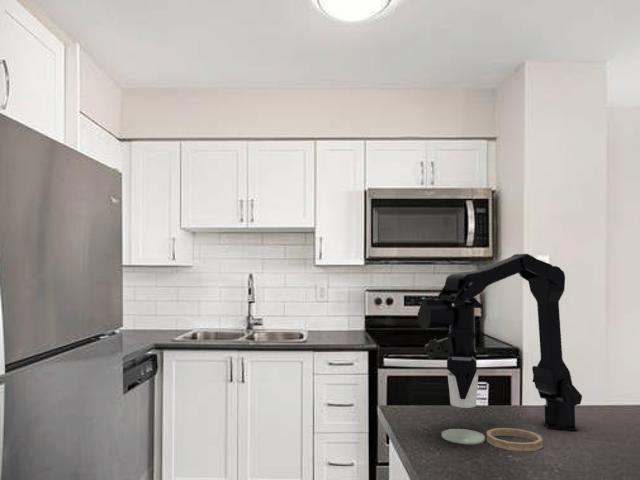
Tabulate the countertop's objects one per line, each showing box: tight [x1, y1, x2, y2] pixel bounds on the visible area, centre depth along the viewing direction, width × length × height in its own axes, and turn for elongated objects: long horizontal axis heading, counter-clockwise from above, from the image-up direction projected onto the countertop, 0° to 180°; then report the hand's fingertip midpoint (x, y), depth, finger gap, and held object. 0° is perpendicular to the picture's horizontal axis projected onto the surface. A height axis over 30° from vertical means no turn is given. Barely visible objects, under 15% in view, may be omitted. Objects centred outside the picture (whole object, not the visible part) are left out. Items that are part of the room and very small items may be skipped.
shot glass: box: [447, 371, 479, 409], centre depth 120 cm, size 7×7×7 cm
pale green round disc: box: [441, 428, 486, 445], centre depth 120 cm, size 10×10×1 cm
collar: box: [486, 427, 544, 452], centre depth 116 cm, size 12×12×2 cm
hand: (463, 395), depth 120 cm, fingers closed on shot glass, 6 cm apart
